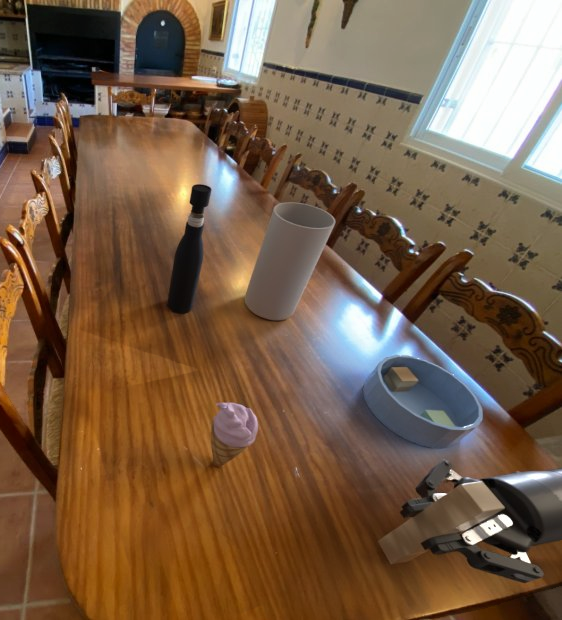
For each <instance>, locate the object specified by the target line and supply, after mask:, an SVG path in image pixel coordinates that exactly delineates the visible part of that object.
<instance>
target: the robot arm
mask: <svg viewBox="0 0 562 620" xmlns="http://www.w3.org/2000/svg"><path fill="white" fill-rule="evenodd" d="M480 481H482V482H483V483H484V484H485V485H486V486H487V487H488V489H489V490H490V491H491V492H492V493H493V494H494V496H495V497H496V498H497V499H498V500H499V501H500V502H501V504H502V505H503V506H504V507H505V509H503V510H501V511H499V512H498V513H496V514H494V515H492V516H490V517H488V518H487V519H485V520H483V521H481V522H479V523H478V524H476V525H474V526H472V527H470V528H468V529H467V531H465V532H462V533H459V534H458V533H454V534H448V535H441V536H436V537H431V538H429V539H427V540H425V541H423V542H422V543H420V544H421V545H422V547H423V548H424V550H428V551H431V553H432V555H436V556H440V555H445V554H450V553H455V552H457V553H460V554H462V555H463V556H464V557H465V558H466V562H467V564H468V565H469V566H470V567H471V568H473V569H475V570H478V571H482V572H485V573H488V574H491V575H495V576H499V577H502V578H505V579H508V580H511V581H515V582H518V583H522V584H527V583H530V582H533V581H536V580H539V579H542V578H544V576H545V573H544V571H543V569H541V568H540V566H538V565H537V564H534V563H532V562H531V560H530V558H529V556H528V554H527V553H528V552H529V551H530V549H531V547H536V546H540V545H544V544H545V545H546V544H550V543H555V542H559V541H562V467H556V468H552V469H546V470H545V469H544V470H527V471H514V472H510V473H508V474H501V475H496V476H490V477H484V478H479V479H478V478H477V479H476V478H471V477H469V476H461V475H460V474H459V473H457V472H456V471H454V470H453V463H452V462H450V461H449V460H448V459H442V460H441V461H440V462H438V463H437V464H436V465H435V466H433V467H432V468H431V469H430V470H429V471H428V472H427V473H426V475H425V476H424V477H423V478H422V479H421V481H420V482H419V483H418V484H417V486H415V488H414V490H415V493H417V495H419V496H420V497H418V498H412V499H409V500H407V501H405V502H404V503H403V504H401V506H400V508H401V510H400V511H399V514H400V515H401V517H402V518H403V519H411V518H412V517H414V516H416V515H417V514H418V513H420V512H421V511H423V510H424V509H425V508H427V507H428V506H430V505H431V504H433V503H434V502H435V501H437V500H438V499H440V498H441V497H443V496H444V495H446V494H447V493H438V492H437V488H438V487H439V485H440V484H442V483H444V484H448V483H452V484H453V489H454V488H456V487H457V486H459V485H460V484H466V483H473V482H480ZM453 489H452V490H453ZM479 542H483V543H485V544H488V545H489V546H492V547H494V548H497V549H499V550H501V551H503V552H505V553H508V554H510V555H508V556H507V555H504V554H501V553H497V552H493V551H490V550H486V549H481V547H479V546H478V543H479Z"/></svg>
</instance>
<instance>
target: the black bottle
mask: <svg viewBox="0 0 562 620" xmlns="http://www.w3.org/2000/svg"><path fill="white" fill-rule="evenodd" d="M211 194H212V187H211V186H209V185H207V184H203V183H197V184H193V185H192V186H191V190H190V197H189V202H188V203H189V205H191V210H190V213H189V214H188V216H187V221H186V223H185V229H184V234H183V235H182V237H181V239H180V240H179V242H178V244H177V247H176V250H175V253H174V257H173V262H172V263H173V264H172V271H171V277H170V283H169V289H168V296H167V301H166V302H167V303H166V305H167V308H168V309H169V310H170V311H171V312H173V313H175V314H179V315H180V314H182V315H183V314H188V313H189V312H191V311H192V310H193V307H194V303H195V298H196V294H197V288H198V284H199V280H200V275H201V271H202V268H203V267H202V266H203V262H204V242H203V232H204V227H205V224H204V222H205V215H204V214H205V213H204V212H205V208H206V207H207V208H208V207H209V204H210V198H211Z"/></svg>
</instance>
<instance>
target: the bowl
mask: <svg viewBox="0 0 562 620" xmlns="http://www.w3.org/2000/svg"><path fill="white" fill-rule="evenodd" d="M391 367H408V369H409V370H410V371H411V372H412V373H413V375H414V376H415V377H416V378H417V379H418V380H419V381H418V382H417V383H416V384H415V385H414V386H413V387H412V388H411V389H410V391H404V392H393V391H392V390H391V388H390V387H389V386H388V384H387V383H386V382H385V381H384V379H383V377H384V376H385V375H386V373H387V372H388V371H389V370H390V369H391ZM362 387H363V388H362V393H363V397H364V400H365V403H366V405H367V407H368V409H369V410H370V411H371V413H372V414H373V416H375V417H376V418H377V420H378V421H380V422H381V423H382V424H383V426H385V427H386V428H387V429H389V431H391V432H393V433H395V434H396V435H397V436H400V437H402V438H403V439H405V440H406V441H409V442H410V443H413V444H416V445H419V446H423V447H427V448H430V449H431V448H432V449H446V448H449V447H452V446H454V445H456V444H458V443H459V442H460V441H462V440H464V438H465V437H466V436H467V435H469V434H470V433H472V432H473V431H474V430H475V429H476V428H477V427H478V426H479V425H480V424H481V422H482V421H483V419H484V415H483V413H484V412H483V407H482V405H481V402H480V401H479V399H478V397H477V396H476V394H475V393H474V392H473V391H472V390H471V389H470V387H469V386H468V385H467V384H466V383H464V381H462V380H461V379H460V378H458V377H457V376H456V375H455V374H453V373H451V372H450V371H448V370H447V369H446V368H443V367H441V366H440V365H438V364H435V363H433V362H431V361H428V360H426V359H423V358H420V357H416V356H412V355H405V354H394V355H389V356H385V357H384V358H383V359H382V360H381V361H379V362H378V364H377V365H376V366H375V367H374V369H373V371H372V372H371V373H370V374H369V376H368V377H367V378H366V379H365V382H364V384H363V386H362ZM425 410H433V411H444V412H445V413H446V415H447V416H448V417H449V419H450V420H451V421H452V422H453V424H454V425H455V426H456V427H449V426H445V425H442V424H438V423H435V422H432V421H430V420H428V419H426V418H424V417H422V416H420V415H421V414H422V413H423V412H424V411H425Z"/></svg>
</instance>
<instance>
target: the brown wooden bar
mask: <svg viewBox="0 0 562 620" xmlns="http://www.w3.org/2000/svg"><path fill="white" fill-rule="evenodd" d="M453 488H454V487H453ZM445 494H446V495H444V496H443V497H441V498H440V499H438V500H437V501H435V502H434V503H433V504H431V505H430V506H428V507H427V508H425V509H424V510H423V511H421V512H420V513H418V514H417V515H416V516H414V517H410V518H408V520H406V521H405V522H403V523H402V524H400V525H399V526H397V527H396V528H395V529H393V530H392V531H390V532H389V533H387V534H386V535H384V536H383V537H381V538H380V539H379V540H377V543H378V545H379V546H380V548H381V550H382V551H383V553H384V555H385V557H386V558H387V560H388V562H389V564H390V565H395V564H402V563H406V562H408V563H409V562H411V561H412V560H413V559H414V560H415V559H416V558H418V557H419V556H421V555H423V554H425V553H427V552H428V551H429V550H424V548H423V547H422V545H421V544H420V543H422V542H423V541H425V540H427V539H429V538H431V537H436V536H441V535H448V534H454V533H458V534H459V535H460V534H462V533H464V531H465V532H466V530H467V529H468V528H470V527H472V526H474V525H476V524H478V523H479V522H481V521H483V520H485V519H487V518H488V517H490V516H492V515H494V514H496V513H498V512H499V511H501V510H503V509H505V507H504V506H503V505H502V504H501V502H500V501H499V500H498V499H497V498H496V497H495V496H494V494H493V493H492V492H491V491H490V490H489V489H488V487H487V486H486V485H485V484H484V483H483V482H482V481H480V482H473V483H466V484H460V485H459V486H457V487H456V488H454V489H452V490H450V491H448V492H447V493H445ZM467 531H468V530H467Z"/></svg>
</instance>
